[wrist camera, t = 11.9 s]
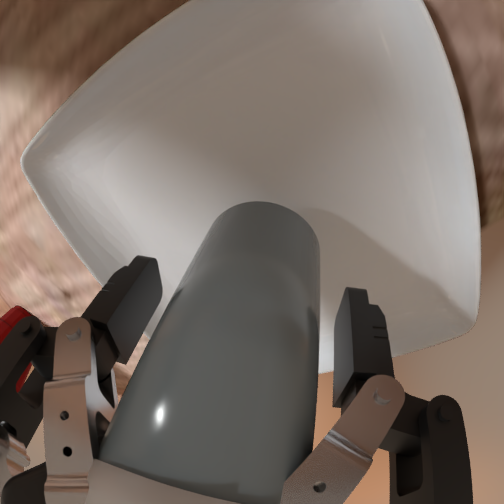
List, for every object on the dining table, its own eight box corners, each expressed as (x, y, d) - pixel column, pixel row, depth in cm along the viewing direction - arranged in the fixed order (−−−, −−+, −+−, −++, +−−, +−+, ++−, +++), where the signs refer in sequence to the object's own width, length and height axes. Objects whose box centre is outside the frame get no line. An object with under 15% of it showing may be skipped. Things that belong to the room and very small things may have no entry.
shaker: (201, 192, 12) (20, 492, 2) (332, 208, 11) (326, 590, 2) (207, 288, 15) (117, 519, 5) (311, 304, 14) (281, 560, 5)
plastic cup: (4, 275, 25) (-54, 345, 15) (65, 338, 29) (17, 416, 19) (-1, 305, 30) (-43, 361, 21) (49, 354, 34) (13, 415, 24)
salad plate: (464, 299, 16) (479, 336, 13) (206, 357, 25) (195, 390, 22) (366, -44, 7) (380, -73, 4) (50, 143, 15) (14, 162, 12)
